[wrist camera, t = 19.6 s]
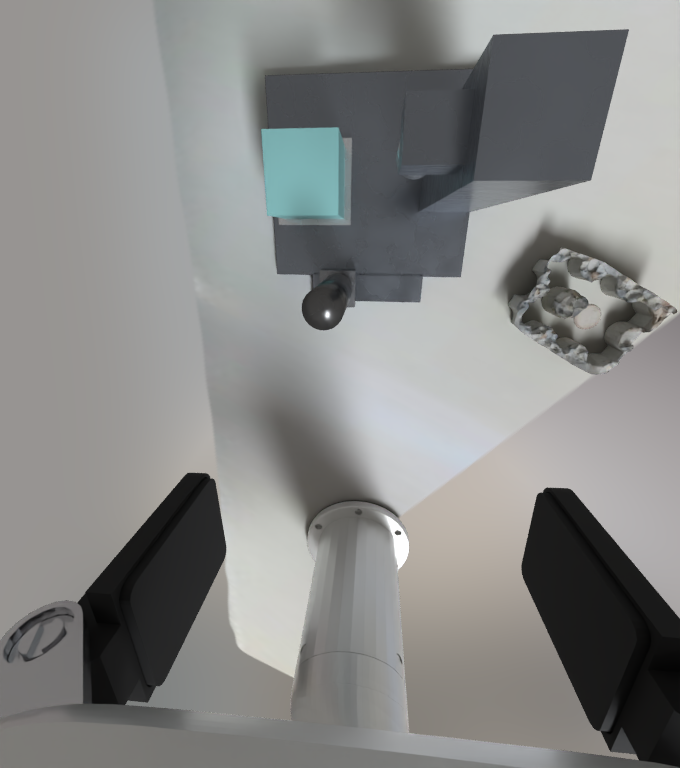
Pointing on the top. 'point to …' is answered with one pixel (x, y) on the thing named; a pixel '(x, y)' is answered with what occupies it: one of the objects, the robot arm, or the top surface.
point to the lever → (330, 298)
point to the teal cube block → (304, 173)
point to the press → (443, 152)
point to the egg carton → (589, 311)
